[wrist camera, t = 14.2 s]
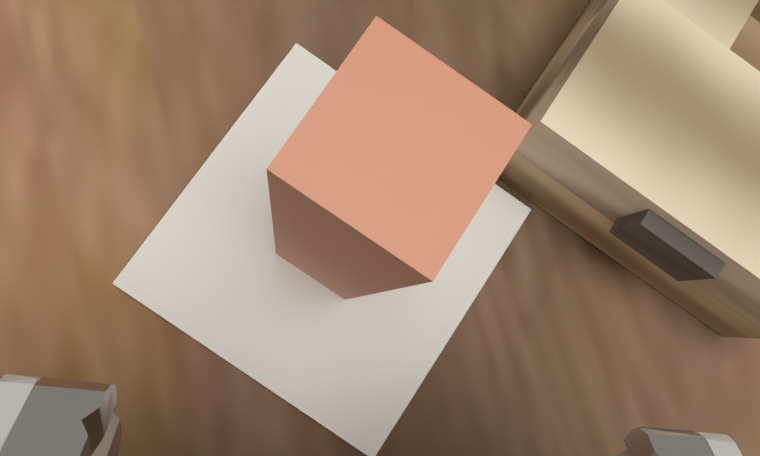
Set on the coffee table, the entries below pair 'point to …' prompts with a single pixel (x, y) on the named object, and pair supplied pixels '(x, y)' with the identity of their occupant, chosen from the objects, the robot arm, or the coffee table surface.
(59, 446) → the robot arm
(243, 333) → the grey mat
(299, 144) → the wooden block
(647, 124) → the cream block with hole
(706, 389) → the coffee table surface
